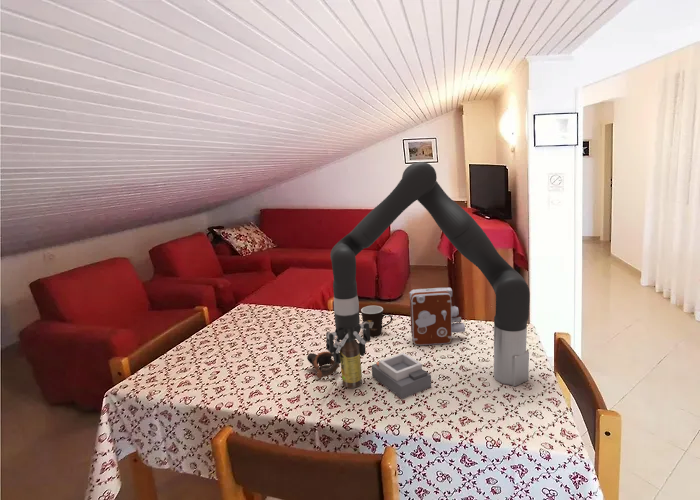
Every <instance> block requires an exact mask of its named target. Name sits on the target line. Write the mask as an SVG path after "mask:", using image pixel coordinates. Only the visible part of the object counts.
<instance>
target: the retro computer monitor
mask: <svg viewBox="0 0 700 500" xmlns="http://www.w3.org/2000/svg"><path fill="white" fill-rule="evenodd" d="M371 377H372V378H374V379H375V380H376V381H378V382H379V383H380V384H381V385H383V386H384V387H386V388H387V389H388V390H389V391H391V392H392V393H393V394H395V395H396V396H398V397H399V398H400V399H402V400H403V399H406V398H408V397H410V396H412V395H415V394H418V393H420V392H422V391H425V390H427V389H430V388H431V387H432V375H431V374H430V373H429V372H427V371H426V370H424V369H423V364H422V363H421V362H419V361H418V360H416V359H415V358H413V357H411V356H410V355H408V354H406V353H405V352H401V353H398V354H395V355H393V356H390V357H387V358H384V359H380V360H378V361H377V362H376V363H374V364H371Z"/></svg>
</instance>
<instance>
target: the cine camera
mask: <svg viewBox="0 0 700 500" xmlns="http://www.w3.org/2000/svg"><path fill="white" fill-rule="evenodd" d="M408 294H409V313H410V314H409V315H410V318H409V319H410V331H411V337H412V341H413V344H415V345H416V346H430V345H431V346H432V345H446V344H450V343H451V342H452V337H453V336H452V335H453V334H458V333H464V332H465V331H466V325H465V323H464V322H462V317H461V316H459V307H458V306H456V305H454V306H453V305H452V297H453V289H452V288H451V287H433V288H431V287H430V288H429V287H428V288H417V289H416V288H415V289H412V290H410V291H409V293H408ZM457 316H458V317H457Z"/></svg>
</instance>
